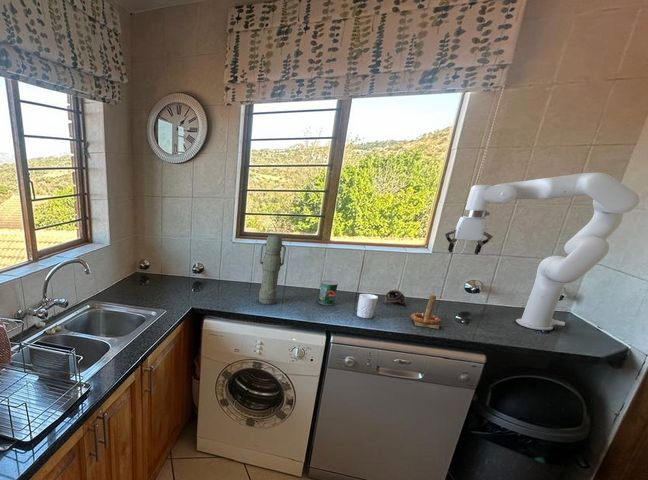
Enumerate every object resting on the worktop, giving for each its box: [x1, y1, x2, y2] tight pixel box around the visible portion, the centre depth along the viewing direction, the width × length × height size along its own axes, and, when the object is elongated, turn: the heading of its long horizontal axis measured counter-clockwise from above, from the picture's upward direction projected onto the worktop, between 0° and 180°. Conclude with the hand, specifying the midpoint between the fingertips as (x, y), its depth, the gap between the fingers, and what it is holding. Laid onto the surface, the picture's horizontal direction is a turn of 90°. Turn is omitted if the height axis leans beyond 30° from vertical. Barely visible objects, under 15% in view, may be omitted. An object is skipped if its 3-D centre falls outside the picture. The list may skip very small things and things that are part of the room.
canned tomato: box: [317, 280, 339, 306], centre depth 210 cm, size 8×8×11 cm
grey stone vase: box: [258, 233, 287, 305], centre depth 206 cm, size 9×12×35 cm
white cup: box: [356, 293, 379, 319], centre depth 191 cm, size 8×8×10 cm
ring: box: [409, 312, 441, 324], centre depth 183 cm, size 11×11×2 cm
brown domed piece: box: [383, 289, 406, 306], centre depth 210 cm, size 12×10×8 cm
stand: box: [412, 294, 440, 330], centre depth 181 cm, size 9×9×14 cm
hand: (462, 253), depth 183 cm, fingers open, 9 cm apart
